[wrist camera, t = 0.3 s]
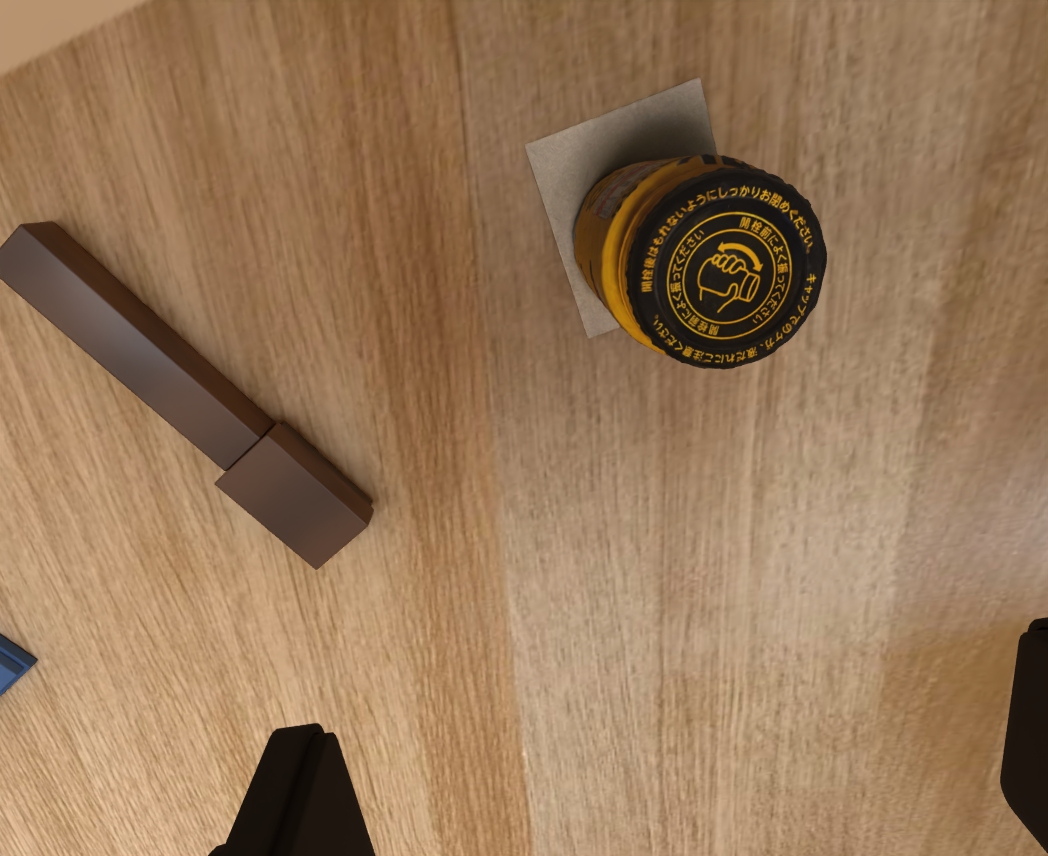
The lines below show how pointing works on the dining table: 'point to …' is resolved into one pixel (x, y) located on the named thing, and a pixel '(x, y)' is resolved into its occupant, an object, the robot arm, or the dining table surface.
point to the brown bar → (188, 395)
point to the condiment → (678, 233)
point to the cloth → (12, 663)
